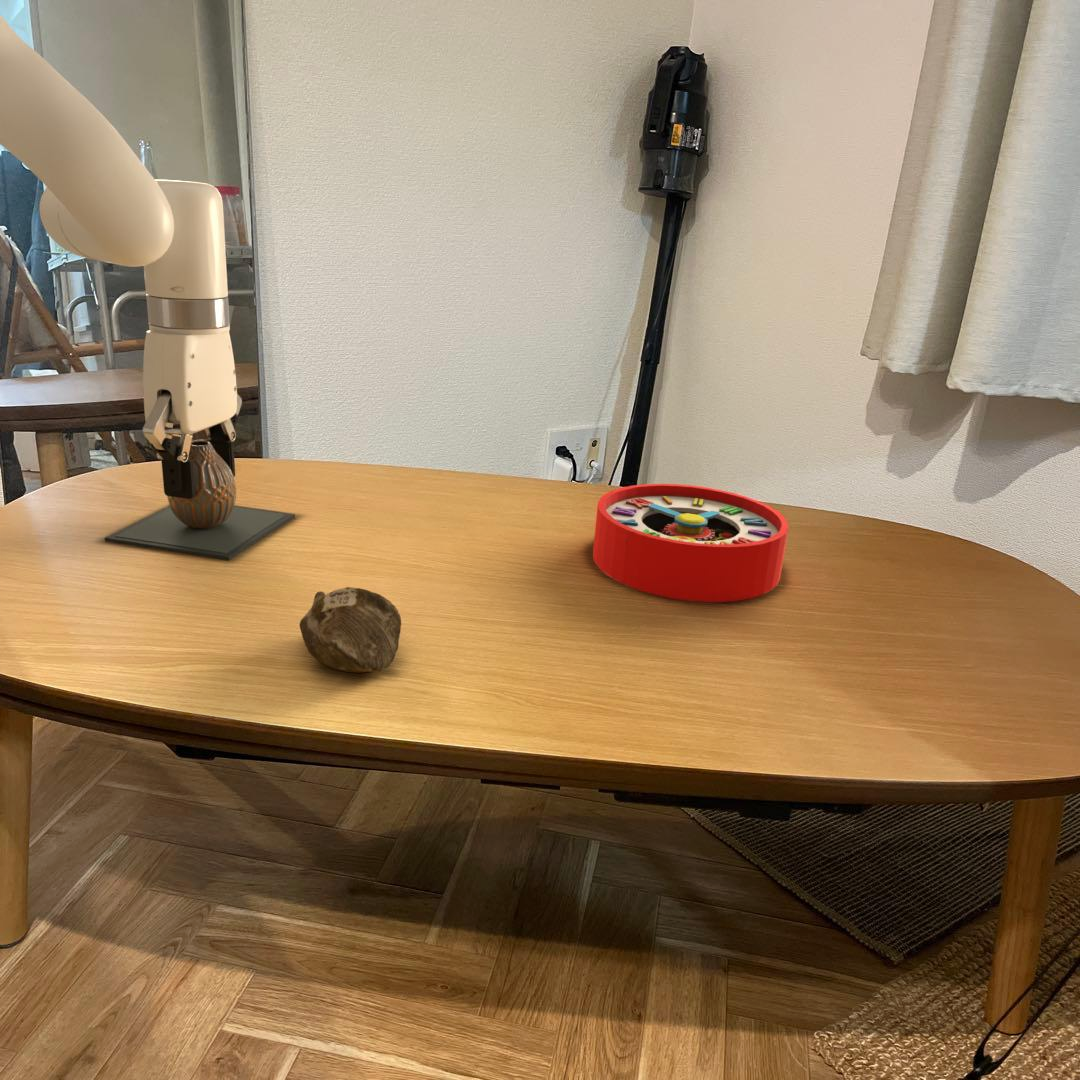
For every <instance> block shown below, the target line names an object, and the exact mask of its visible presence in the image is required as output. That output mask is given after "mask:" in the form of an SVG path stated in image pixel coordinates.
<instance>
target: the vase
mask: <svg viewBox="0 0 1080 1080" xmlns="http://www.w3.org/2000/svg"><path fill="white" fill-rule="evenodd" d="M204 440H205V439H196V440H195V439H193V440H192V441H191V446H190V451H189V456H188V460H193V469H194V483H195V497H193V498H191V499H186V498H179V497H172V496H167V495H166V497H167V502H168V506H170V508H171V510H172V512H173V513H174V515H175V516H176V517H177V518H178V519H179V520H180V521H181V522H182V523H184V524H185V525H187V526H189V527H194V528H209V527H214V526H218V525H220V524H222V523H223V522H224V521H225V520H226V519H227V518H228V517H229V516H230V514H231V513H232V511H233V508H234V505H235V504H236V500H237V484H236V479H235V477H234V476H233V474H232V471H231V469H230V468H229V466H228V465H227V463H226V462H225V461H224V460H223V459H222V458H221V457H220V456H219V455H218V454H217V452H216V451H215V450H214V448H213V446H212V444H211V443H210V442H209V441H204ZM235 506H236V505H235Z"/></svg>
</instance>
